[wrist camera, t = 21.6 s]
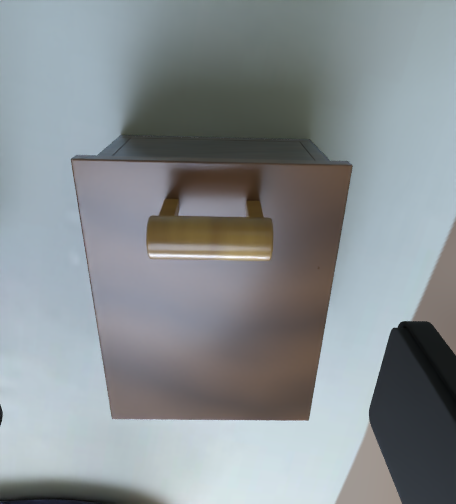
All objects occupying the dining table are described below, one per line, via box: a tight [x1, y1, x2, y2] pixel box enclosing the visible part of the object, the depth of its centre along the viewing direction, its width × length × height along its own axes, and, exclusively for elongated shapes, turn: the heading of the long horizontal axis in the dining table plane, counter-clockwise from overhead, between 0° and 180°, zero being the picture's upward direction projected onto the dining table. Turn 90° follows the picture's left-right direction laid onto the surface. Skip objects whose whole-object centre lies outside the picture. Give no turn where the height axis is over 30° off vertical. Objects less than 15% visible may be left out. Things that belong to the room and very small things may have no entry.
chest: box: [97, 135, 330, 161], centre depth 28 cm, size 17×13×9 cm
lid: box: [71, 155, 353, 421], centre depth 21 cm, size 18×13×5 cm
